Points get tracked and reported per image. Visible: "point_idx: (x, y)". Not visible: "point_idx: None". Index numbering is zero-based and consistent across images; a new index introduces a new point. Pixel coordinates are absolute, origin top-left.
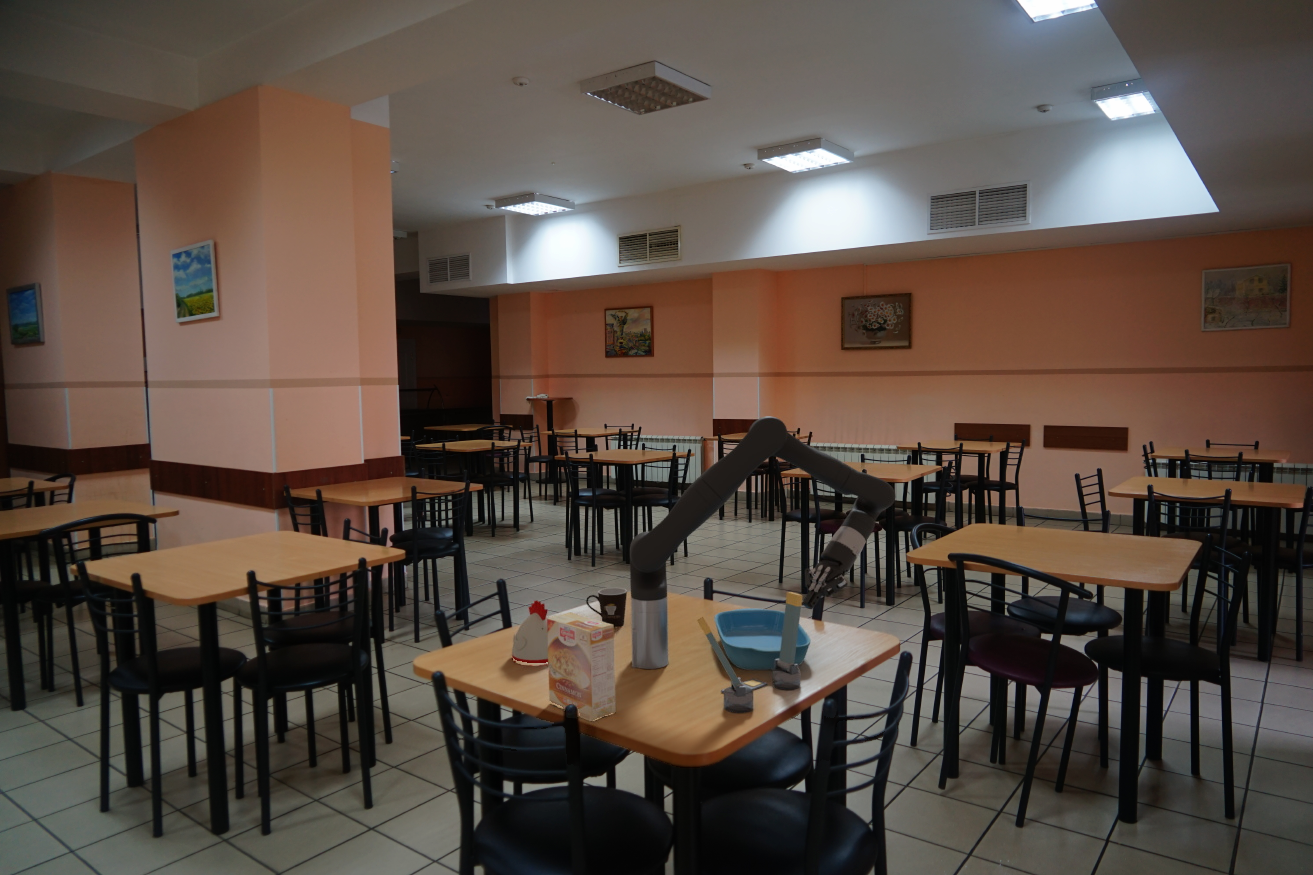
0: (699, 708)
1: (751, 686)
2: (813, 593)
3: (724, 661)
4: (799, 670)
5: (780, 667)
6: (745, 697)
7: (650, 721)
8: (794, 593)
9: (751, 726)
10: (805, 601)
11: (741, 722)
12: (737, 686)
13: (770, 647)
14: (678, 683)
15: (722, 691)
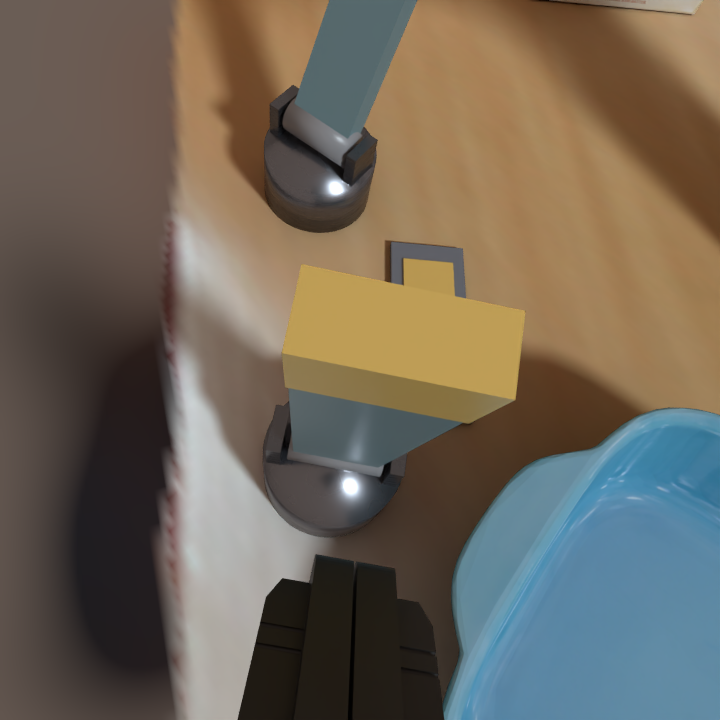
0: (400, 122)
1: None
2: (298, 703)
3: None
4: (284, 500)
5: (383, 467)
6: (268, 133)
7: (425, 7)
8: (415, 337)
9: (186, 110)
10: (362, 578)
11: (229, 115)
12: (296, 93)
13: (536, 531)
14: (615, 224)
15: (453, 249)
